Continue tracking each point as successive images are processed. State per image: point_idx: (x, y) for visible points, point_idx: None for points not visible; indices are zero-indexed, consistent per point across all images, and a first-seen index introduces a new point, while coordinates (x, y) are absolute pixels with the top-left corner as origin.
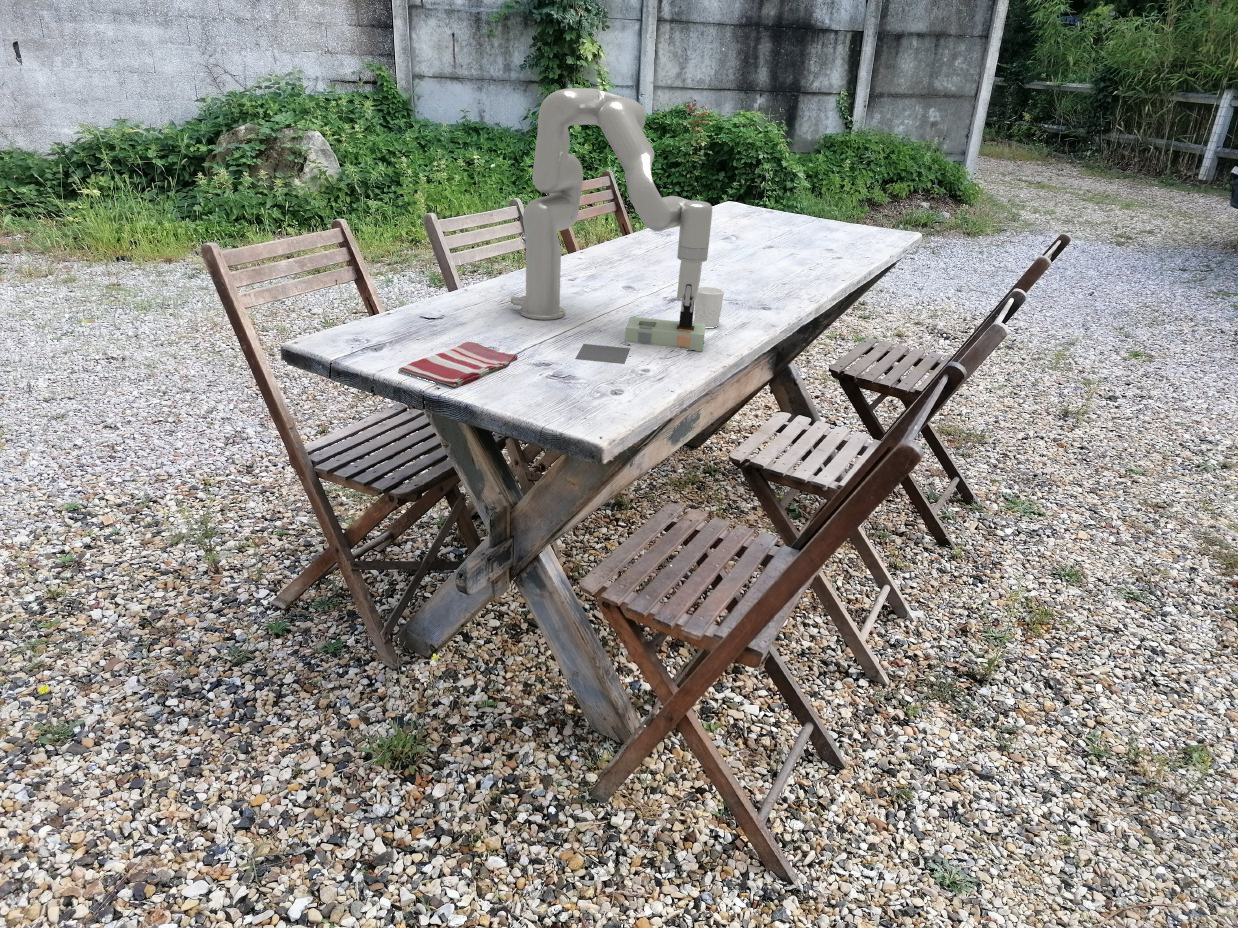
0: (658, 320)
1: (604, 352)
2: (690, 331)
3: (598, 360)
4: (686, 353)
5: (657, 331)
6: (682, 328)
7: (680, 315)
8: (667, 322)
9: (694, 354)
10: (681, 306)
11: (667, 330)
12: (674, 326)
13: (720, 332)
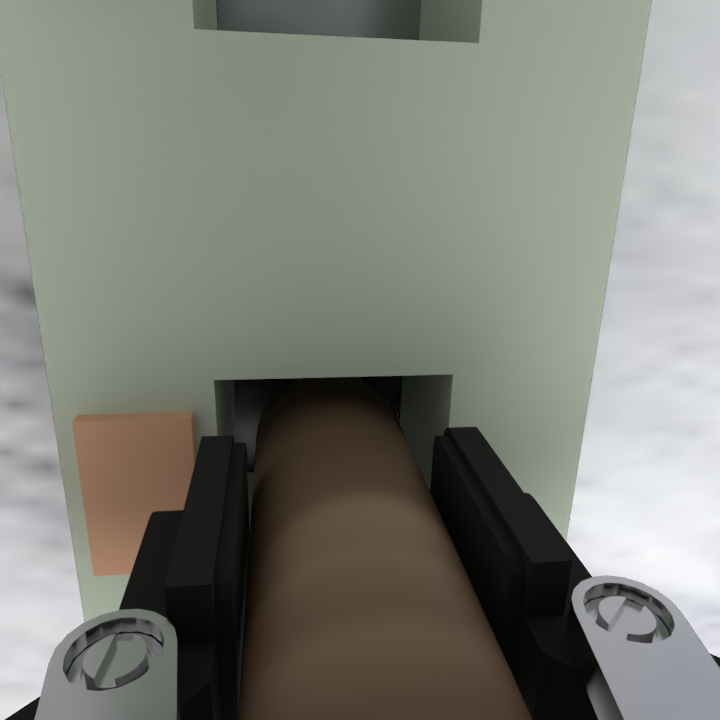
0: (586, 71)
1: None
2: (127, 567)
3: None
4: (37, 440)
5: (10, 90)
6: (262, 453)
7: (177, 537)
8: (508, 225)
9: (42, 510)
10: (346, 632)
11: (90, 256)
12: (338, 340)
13: (717, 632)
